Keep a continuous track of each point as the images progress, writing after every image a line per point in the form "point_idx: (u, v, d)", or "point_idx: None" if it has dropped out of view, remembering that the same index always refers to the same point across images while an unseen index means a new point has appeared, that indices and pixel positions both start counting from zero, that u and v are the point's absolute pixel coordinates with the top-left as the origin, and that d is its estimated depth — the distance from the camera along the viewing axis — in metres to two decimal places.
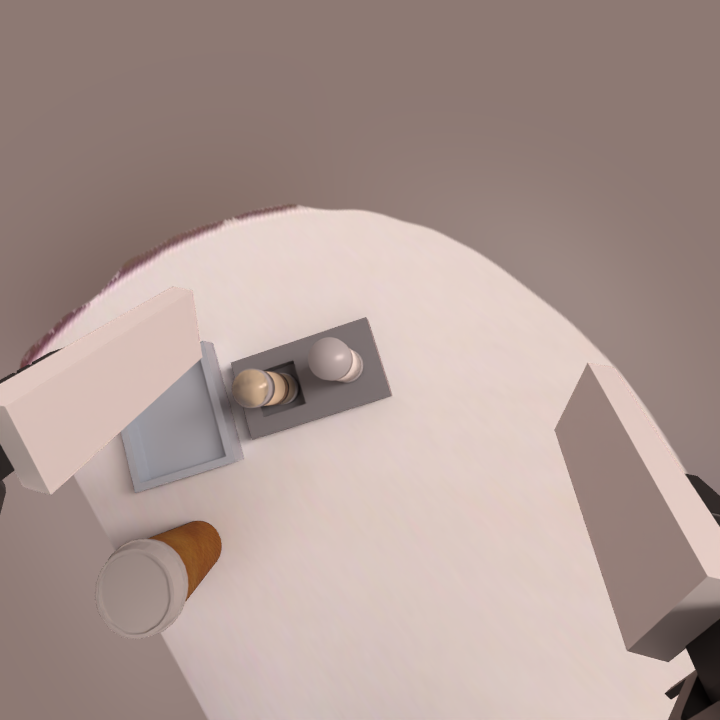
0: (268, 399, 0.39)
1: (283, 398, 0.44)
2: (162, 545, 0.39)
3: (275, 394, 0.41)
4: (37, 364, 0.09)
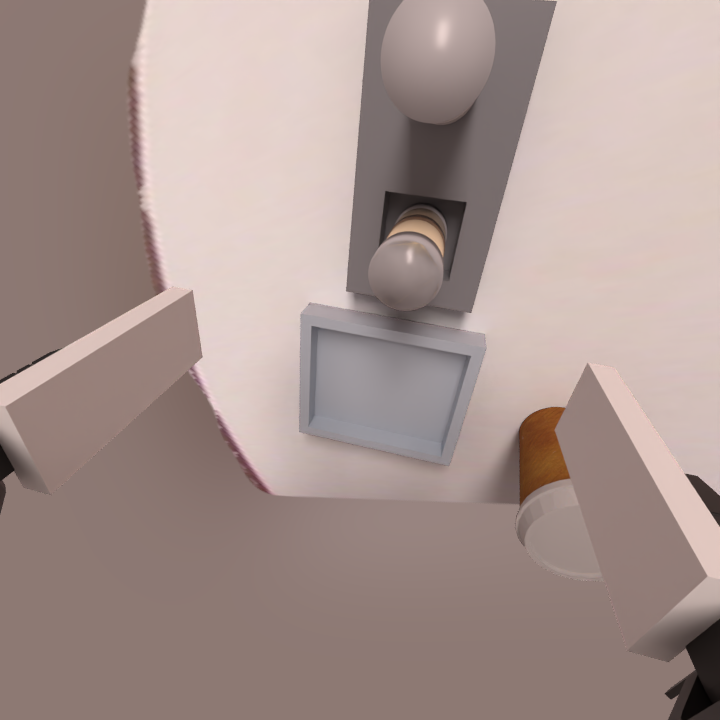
0: (439, 254, 0.20)
1: (442, 234, 0.24)
2: (551, 490, 0.27)
3: (434, 240, 0.22)
4: (38, 364, 0.09)
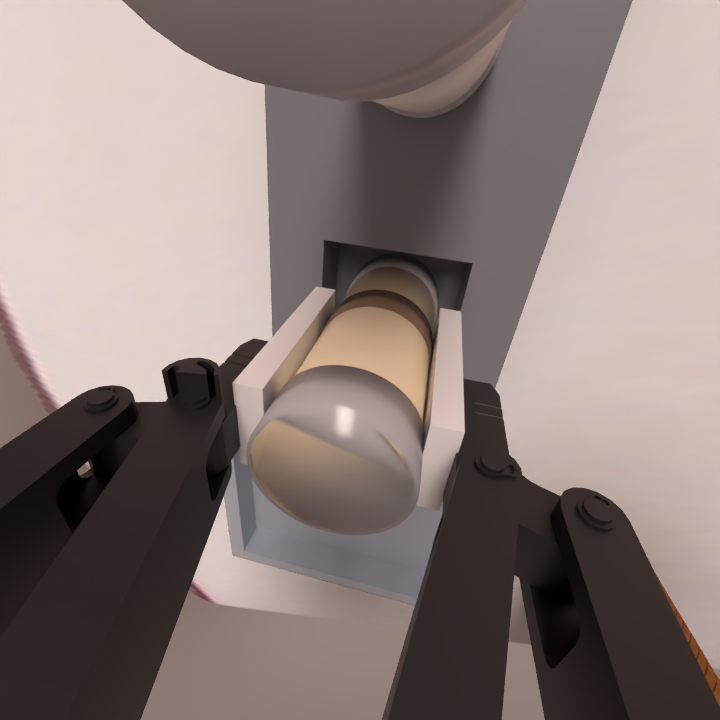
0: (412, 432, 0.08)
1: (425, 331, 0.13)
2: None
3: (403, 375, 0.10)
4: (259, 354, 0.10)
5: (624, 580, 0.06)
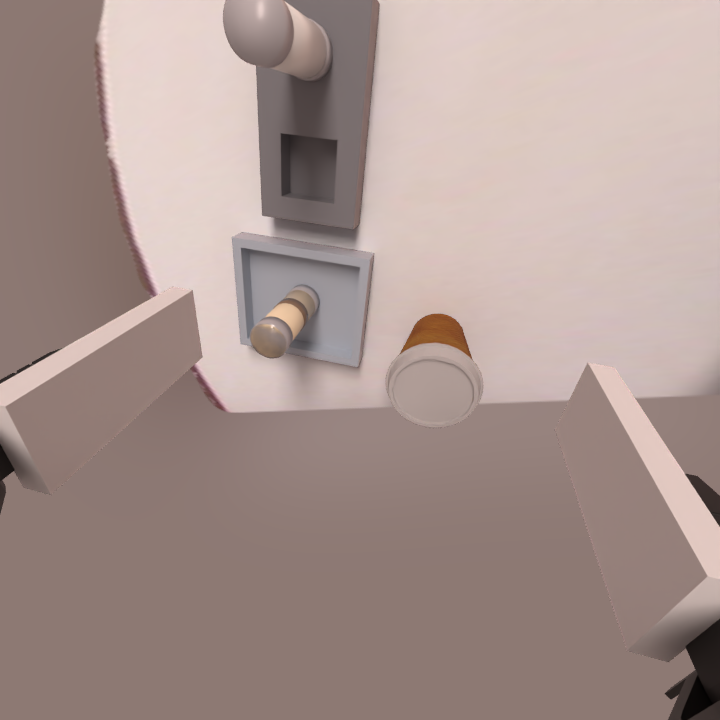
0: (285, 330, 0.38)
1: (302, 310, 0.42)
2: (403, 352, 0.37)
3: (288, 319, 0.40)
4: (38, 364, 0.09)
5: None
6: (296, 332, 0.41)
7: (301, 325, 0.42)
